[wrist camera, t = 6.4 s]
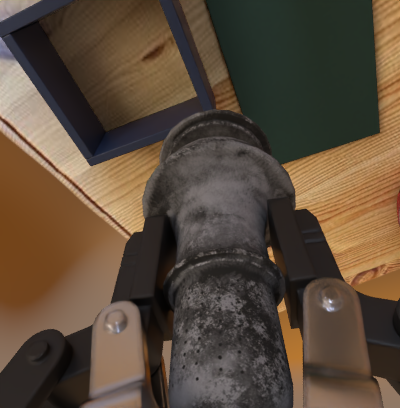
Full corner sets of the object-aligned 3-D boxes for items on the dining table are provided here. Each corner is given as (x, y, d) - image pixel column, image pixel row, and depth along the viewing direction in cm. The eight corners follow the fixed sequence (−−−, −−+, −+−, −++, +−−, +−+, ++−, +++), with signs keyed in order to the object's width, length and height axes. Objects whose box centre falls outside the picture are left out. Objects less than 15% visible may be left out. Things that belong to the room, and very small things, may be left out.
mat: (189, -51, 24) (188, -51, 23) (360, -137, 21) (364, -139, 21) (260, 168, 35) (261, 171, 35) (377, 130, 33) (380, 133, 32)
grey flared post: (304, 157, 15) (475, 502, 6) (219, 228, 18) (237, 540, 8) (210, 72, 13) (233, 414, 3) (128, 168, 16) (15, 505, 6)
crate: (23, 14, 26) (-8, 26, 22) (158, -56, 24) (150, -57, 20) (103, 141, 33) (90, 166, 29) (215, 98, 31) (217, 120, 27)
